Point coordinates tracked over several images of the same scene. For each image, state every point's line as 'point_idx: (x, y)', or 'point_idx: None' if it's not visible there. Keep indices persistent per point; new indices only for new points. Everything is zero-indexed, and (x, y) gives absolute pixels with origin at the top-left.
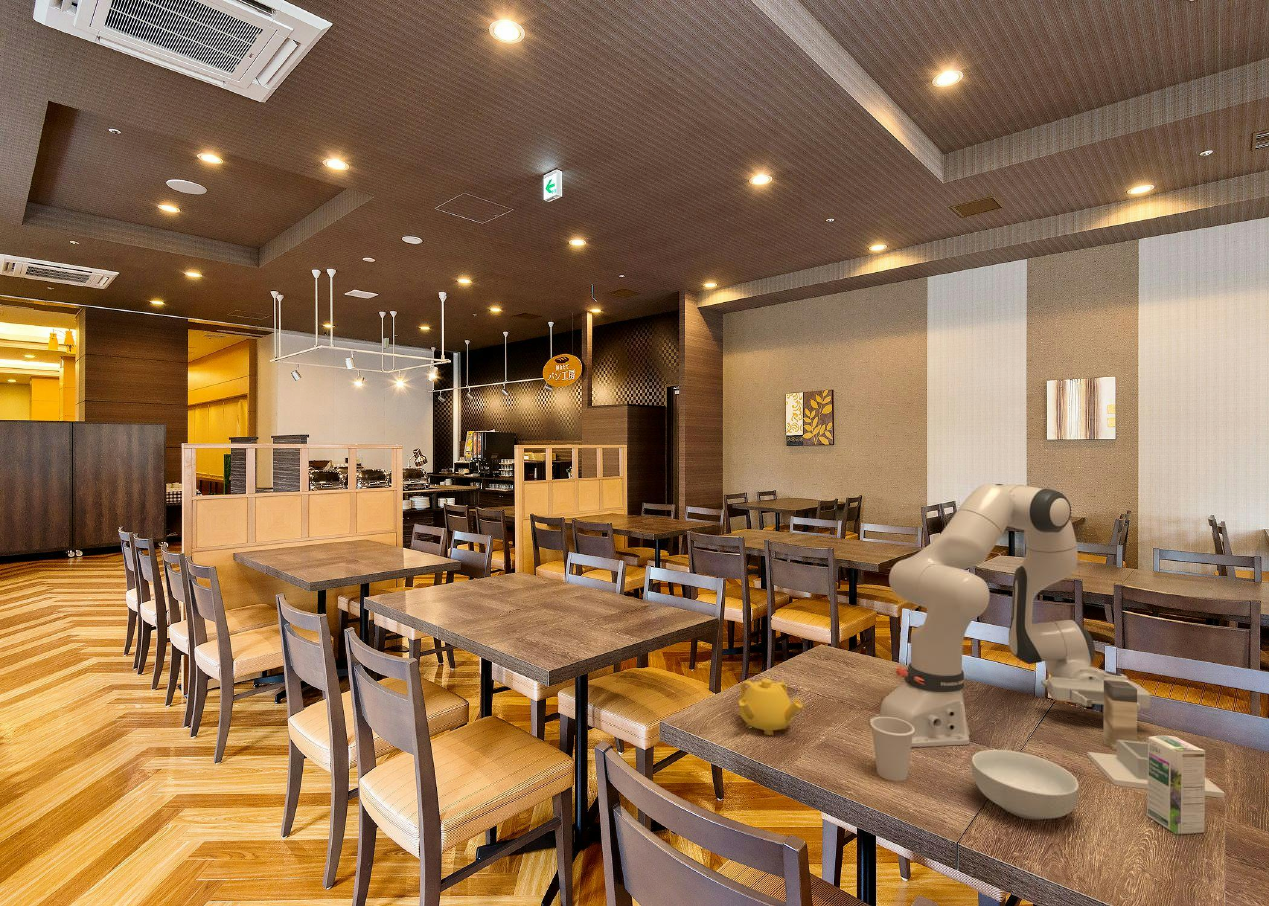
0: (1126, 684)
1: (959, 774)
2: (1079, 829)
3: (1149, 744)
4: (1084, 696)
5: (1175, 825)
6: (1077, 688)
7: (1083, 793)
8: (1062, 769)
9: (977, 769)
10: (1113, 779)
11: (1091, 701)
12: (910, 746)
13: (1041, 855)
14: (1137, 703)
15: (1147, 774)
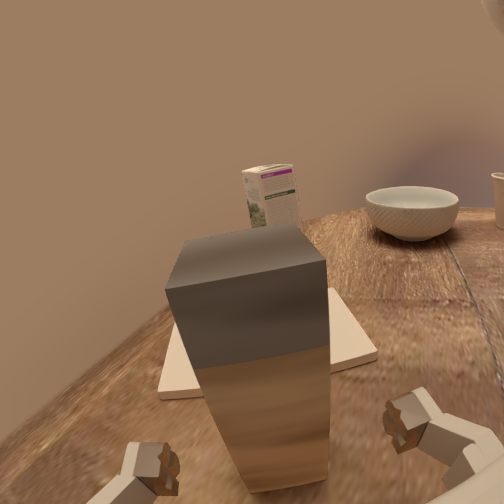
0: (200, 259)
1: (480, 243)
2: (366, 232)
3: (293, 172)
4: (428, 418)
5: None
6: (485, 471)
7: (370, 266)
8: (384, 205)
9: (439, 190)
10: (334, 290)
11: (388, 401)
12: (495, 191)
13: None
14: (135, 444)
15: None
